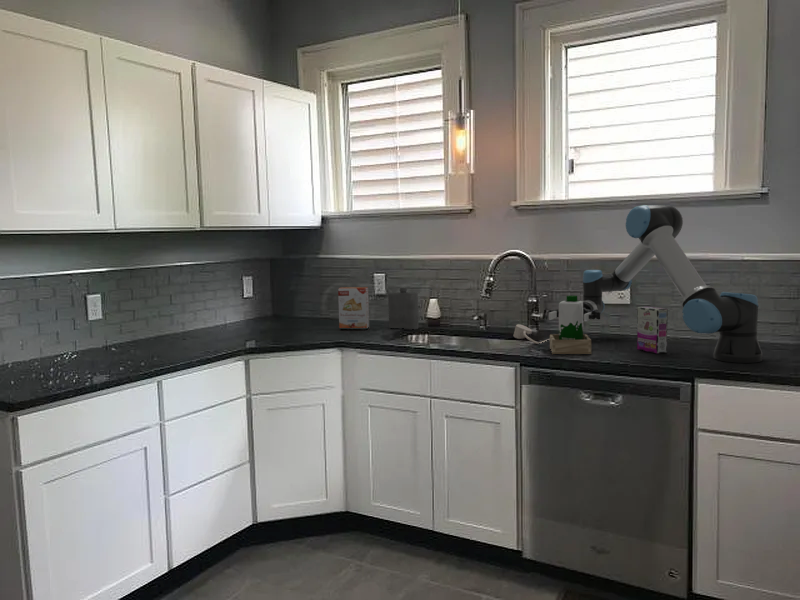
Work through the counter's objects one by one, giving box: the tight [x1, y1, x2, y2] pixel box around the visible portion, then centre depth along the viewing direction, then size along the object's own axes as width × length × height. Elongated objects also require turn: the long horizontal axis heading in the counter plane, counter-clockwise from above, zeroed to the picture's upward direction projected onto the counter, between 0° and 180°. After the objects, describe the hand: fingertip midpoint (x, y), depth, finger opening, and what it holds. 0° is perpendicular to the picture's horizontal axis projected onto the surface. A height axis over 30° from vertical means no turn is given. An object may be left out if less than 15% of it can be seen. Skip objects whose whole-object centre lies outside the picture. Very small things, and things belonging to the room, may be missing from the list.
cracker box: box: [337, 286, 370, 329], centre depth 331 cm, size 14×6×21 cm, turn 81°
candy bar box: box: [636, 306, 669, 355], centre depth 253 cm, size 11×5×16 cm, turn 21°
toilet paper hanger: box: [513, 324, 550, 345], centre depth 289 cm, size 20×5×16 cm
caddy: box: [549, 333, 592, 355], centre depth 257 cm, size 14×14×6 cm
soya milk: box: [558, 295, 584, 340], centre depth 257 cm, size 9×9×20 cm
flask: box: [387, 287, 419, 330], centre depth 330 cm, size 15×6×20 cm, turn 70°
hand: (567, 317), depth 254 cm, fingers open, 13 cm apart
